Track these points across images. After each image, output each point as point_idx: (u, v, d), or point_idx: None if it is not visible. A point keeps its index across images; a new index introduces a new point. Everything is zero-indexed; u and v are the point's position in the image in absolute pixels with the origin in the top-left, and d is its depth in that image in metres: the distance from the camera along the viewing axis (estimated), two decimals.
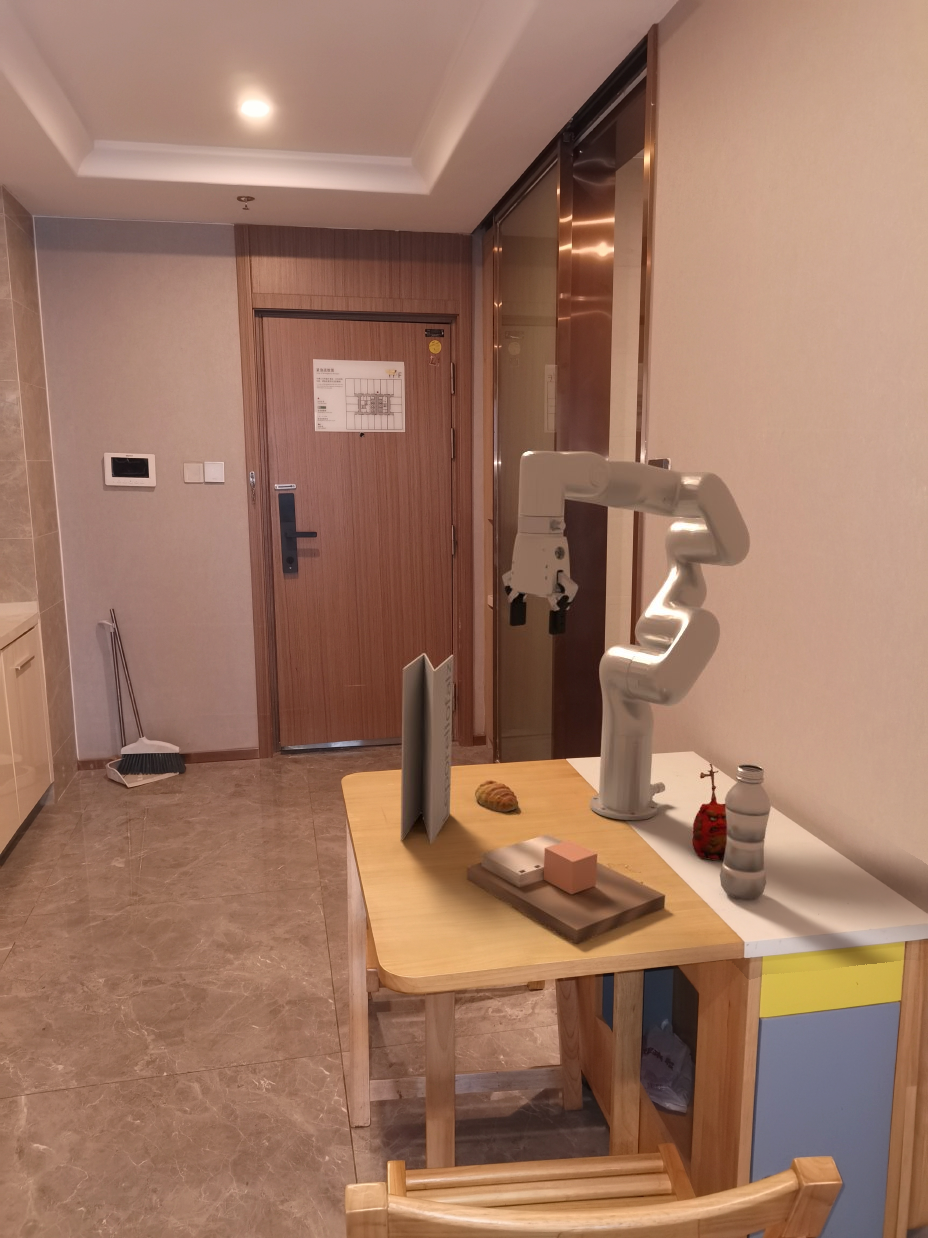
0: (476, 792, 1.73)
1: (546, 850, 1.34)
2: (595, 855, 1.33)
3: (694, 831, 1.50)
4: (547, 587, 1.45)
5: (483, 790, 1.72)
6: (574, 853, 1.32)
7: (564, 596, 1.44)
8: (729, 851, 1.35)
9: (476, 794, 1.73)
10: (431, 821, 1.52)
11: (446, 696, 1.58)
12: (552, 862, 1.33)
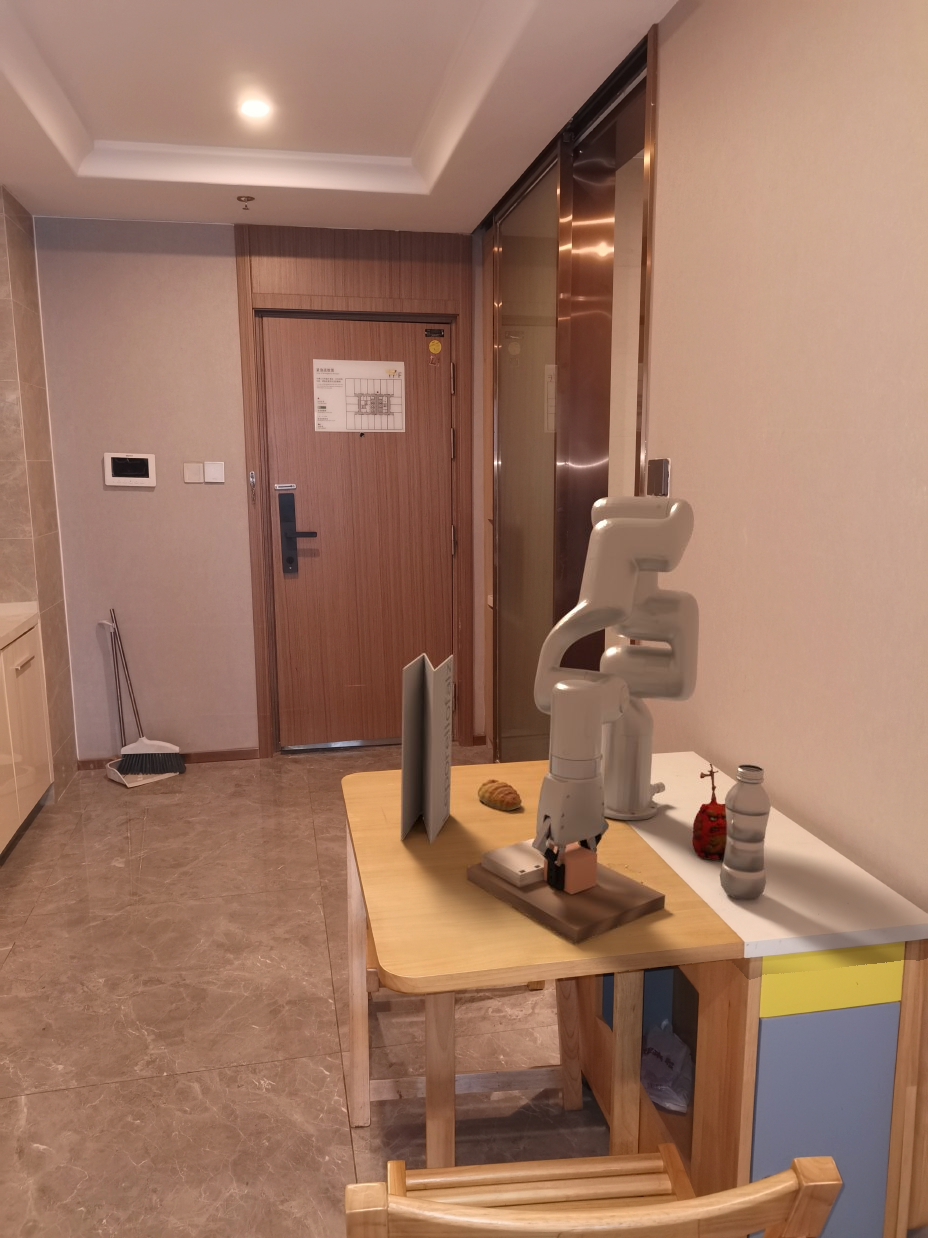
0: (479, 791, 1.74)
1: None
2: (595, 855, 1.33)
3: (694, 831, 1.50)
4: (602, 824, 1.34)
5: (486, 789, 1.72)
6: (574, 853, 1.32)
7: (599, 835, 1.36)
8: (729, 851, 1.35)
9: (479, 793, 1.74)
10: (431, 821, 1.52)
11: (446, 696, 1.58)
12: None
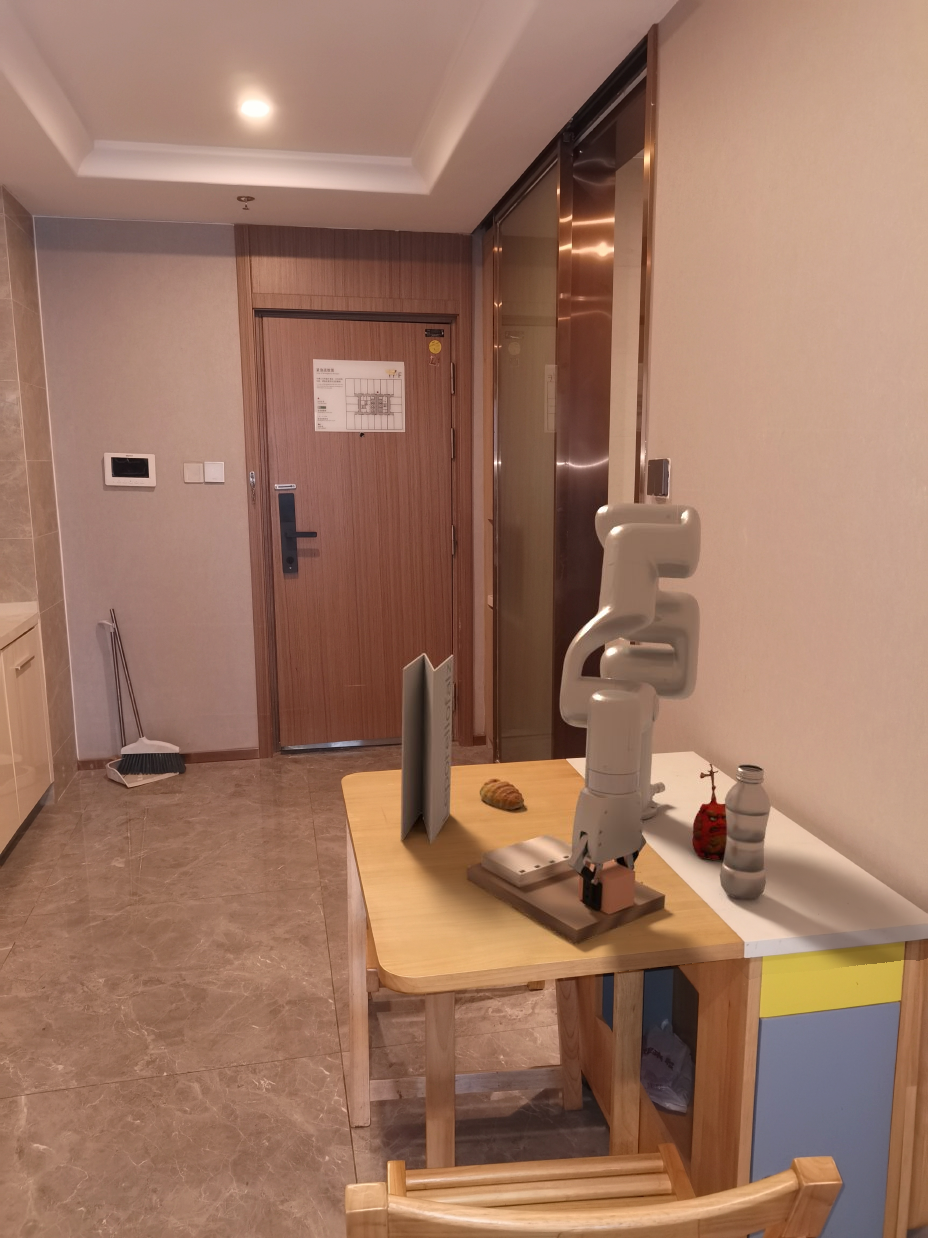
0: (481, 791, 1.74)
1: None
2: (633, 873, 1.27)
3: (694, 831, 1.50)
4: (640, 841, 1.28)
5: (488, 788, 1.73)
6: (611, 871, 1.27)
7: (637, 852, 1.30)
8: (729, 851, 1.35)
9: (481, 793, 1.74)
10: (431, 821, 1.52)
11: (446, 696, 1.58)
12: None
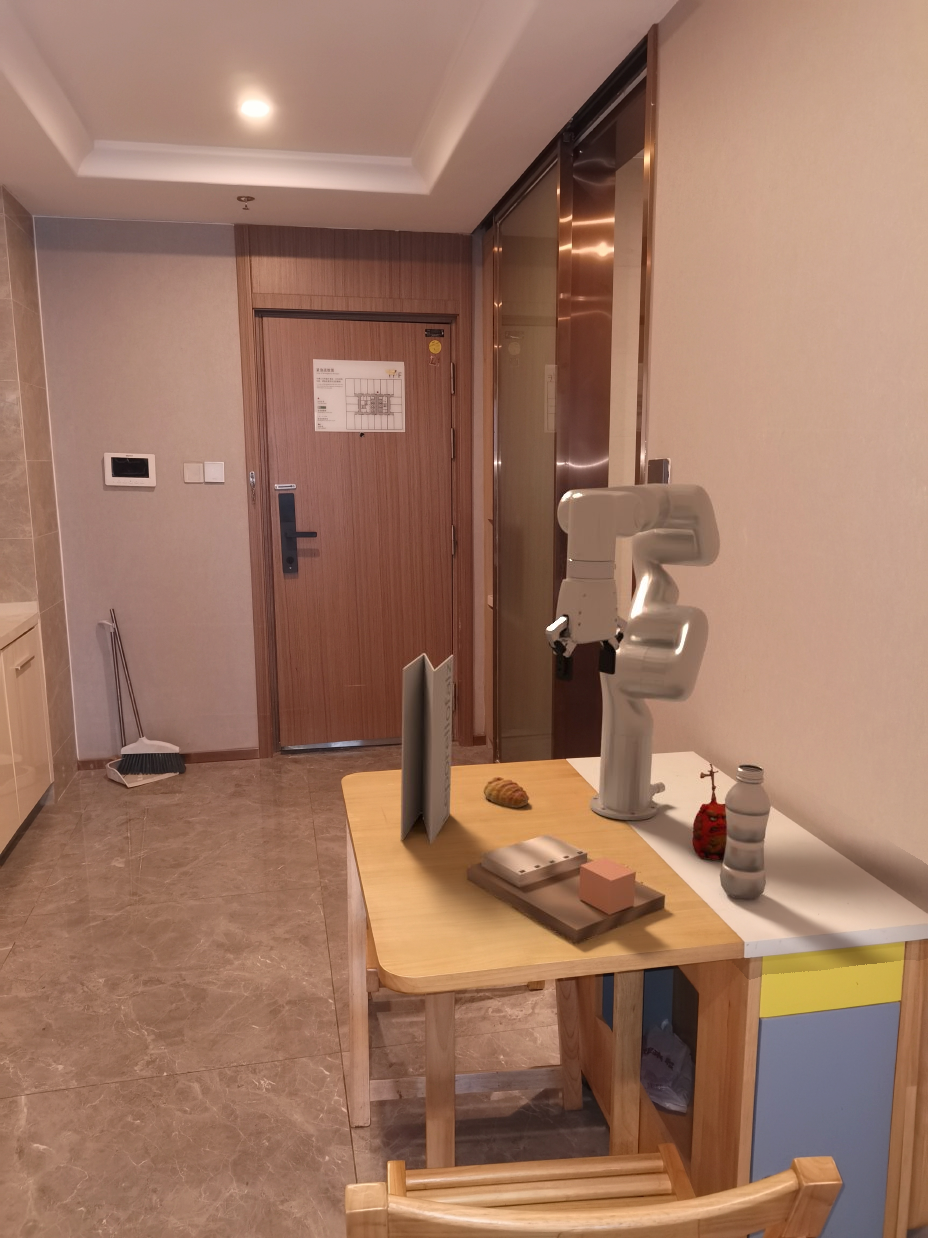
0: (485, 789, 1.75)
1: (582, 868, 1.28)
2: (633, 873, 1.27)
3: (694, 831, 1.50)
4: (615, 629, 1.45)
5: (493, 787, 1.74)
6: (611, 872, 1.27)
7: (622, 634, 1.48)
8: (729, 851, 1.35)
9: (485, 791, 1.75)
10: (431, 821, 1.52)
11: (446, 696, 1.58)
12: (588, 880, 1.27)
